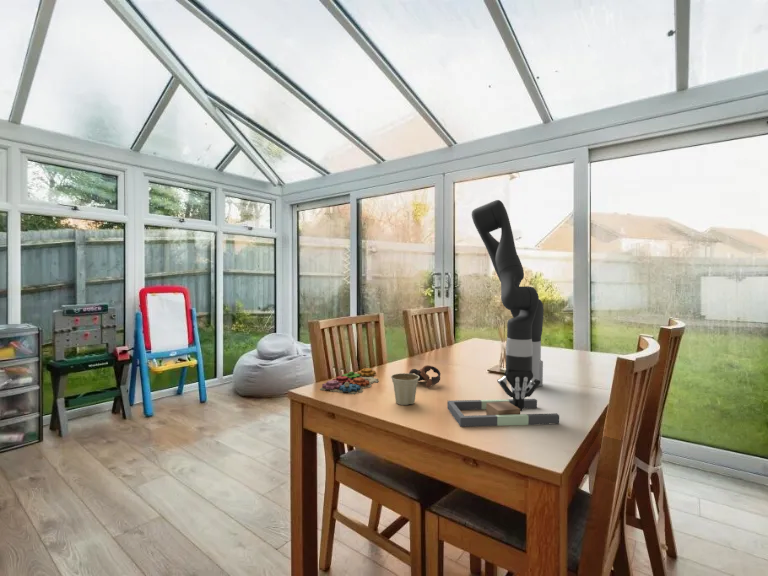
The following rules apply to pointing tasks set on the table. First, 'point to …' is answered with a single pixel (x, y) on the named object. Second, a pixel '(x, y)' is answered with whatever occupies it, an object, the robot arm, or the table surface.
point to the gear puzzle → (351, 382)
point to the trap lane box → (497, 419)
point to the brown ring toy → (425, 377)
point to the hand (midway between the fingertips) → (518, 410)
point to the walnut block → (501, 408)
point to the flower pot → (405, 387)
